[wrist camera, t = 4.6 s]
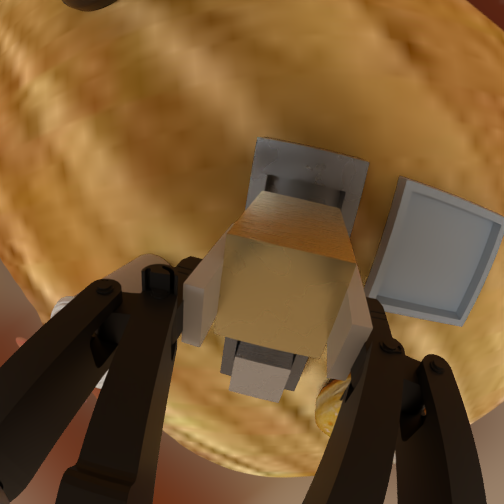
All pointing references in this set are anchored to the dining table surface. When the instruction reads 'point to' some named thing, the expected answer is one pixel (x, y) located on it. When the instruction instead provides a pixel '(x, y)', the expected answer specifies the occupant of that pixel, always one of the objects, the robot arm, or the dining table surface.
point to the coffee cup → (122, 283)
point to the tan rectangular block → (284, 274)
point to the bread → (332, 405)
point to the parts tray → (433, 254)
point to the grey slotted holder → (303, 187)
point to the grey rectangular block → (260, 371)
